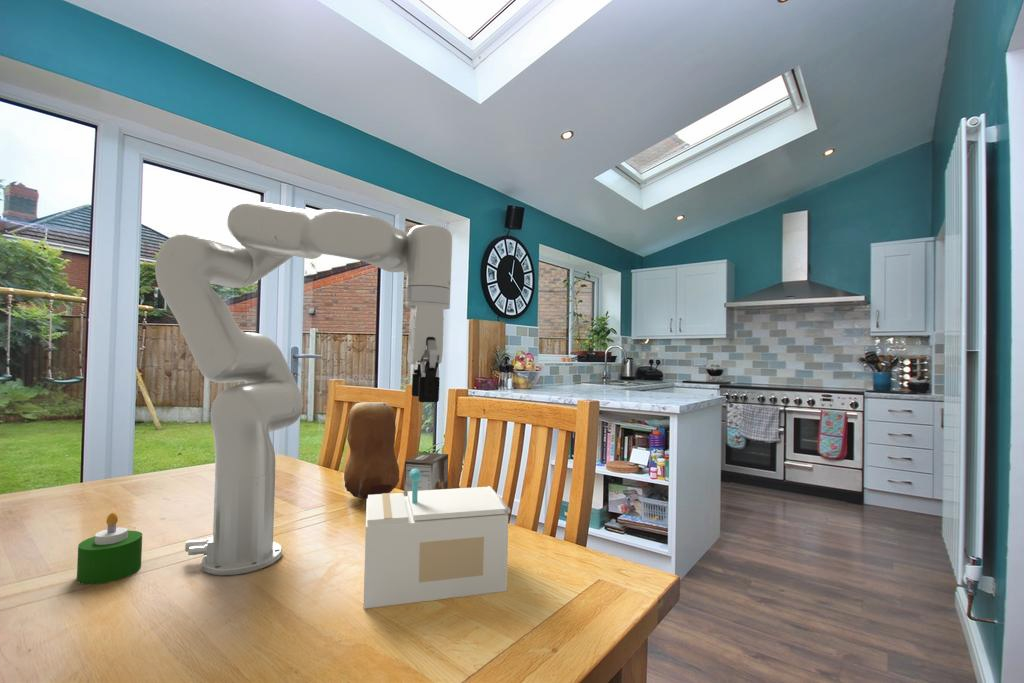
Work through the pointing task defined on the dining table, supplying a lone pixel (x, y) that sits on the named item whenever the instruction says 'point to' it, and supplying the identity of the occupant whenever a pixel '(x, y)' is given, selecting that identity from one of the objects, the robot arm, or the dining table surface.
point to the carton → (430, 554)
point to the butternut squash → (371, 450)
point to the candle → (109, 554)
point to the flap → (453, 501)
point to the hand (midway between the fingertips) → (424, 398)
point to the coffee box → (427, 472)
